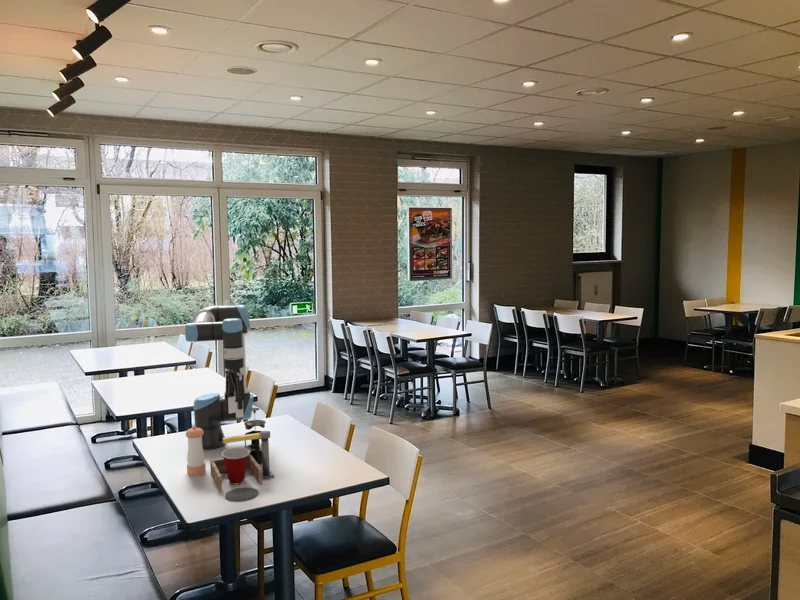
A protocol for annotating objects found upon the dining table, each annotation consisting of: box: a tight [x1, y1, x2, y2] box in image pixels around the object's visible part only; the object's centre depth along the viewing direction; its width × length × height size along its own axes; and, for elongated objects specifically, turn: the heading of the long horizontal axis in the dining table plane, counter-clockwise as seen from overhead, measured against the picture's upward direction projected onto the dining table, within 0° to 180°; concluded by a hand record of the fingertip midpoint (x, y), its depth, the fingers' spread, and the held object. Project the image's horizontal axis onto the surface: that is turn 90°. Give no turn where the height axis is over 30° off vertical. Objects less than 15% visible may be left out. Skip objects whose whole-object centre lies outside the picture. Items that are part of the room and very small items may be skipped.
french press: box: [244, 407, 266, 465], centre depth 277 cm, size 12×9×23 cm
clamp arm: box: [223, 430, 271, 444], centre depth 254 cm, size 4×18×2 cm, turn 115°
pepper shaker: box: [185, 425, 207, 476], centre depth 264 cm, size 7×7×19 cm
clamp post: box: [260, 438, 275, 480], centre depth 258 cm, size 5×5×16 cm
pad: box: [224, 486, 259, 502], centre depth 240 cm, size 12×12×1 cm
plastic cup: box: [221, 447, 250, 485], centre depth 253 cm, size 11×11×12 cm
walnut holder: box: [209, 454, 263, 493], centre depth 255 cm, size 20×16×6 cm
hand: (236, 414), depth 257 cm, fingers open, 8 cm apart
